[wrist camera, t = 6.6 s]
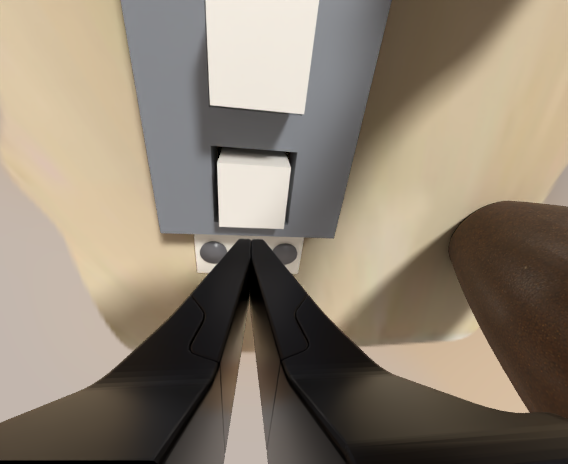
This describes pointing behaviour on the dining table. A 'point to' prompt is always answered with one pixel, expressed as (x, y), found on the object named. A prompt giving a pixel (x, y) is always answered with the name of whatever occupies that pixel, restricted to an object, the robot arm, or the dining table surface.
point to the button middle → (260, 53)
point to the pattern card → (217, 246)
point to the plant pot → (520, 294)
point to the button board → (249, 115)
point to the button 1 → (252, 188)
